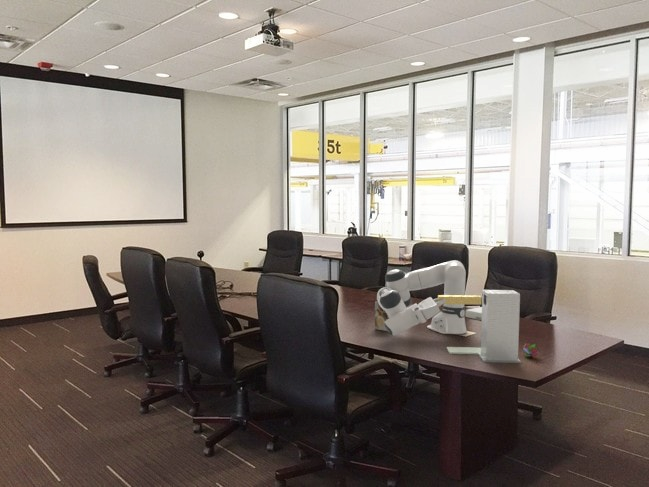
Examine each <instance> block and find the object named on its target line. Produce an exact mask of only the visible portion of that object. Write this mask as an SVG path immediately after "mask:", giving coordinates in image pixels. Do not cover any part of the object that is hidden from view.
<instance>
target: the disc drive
mask: <svg viewBox="0 0 649 487" xmlns="http://www.w3.org/2000/svg"><path fill="white" fill-rule="evenodd" d="M465 317H466V318H469V319H474V320H479V321H482V306H478V307H475V308H469V309H465Z"/></svg>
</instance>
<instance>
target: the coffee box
mask: <svg viewBox="0 0 649 487" xmlns="http://www.w3.org/2000/svg"><path fill="white" fill-rule="evenodd" d="M387 319H389V317H388V315H387V313H386V311H385V310H383V309H382V308H381V307H380V305H379V303H378V300H377V299H376V300H375V301H374V329H375V330H379V331H384V332H388V331H387V329H386V327H385V325H384V322H385V321H386V320H387Z"/></svg>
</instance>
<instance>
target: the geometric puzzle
mask: <svg viewBox="0 0 649 487" xmlns="http://www.w3.org/2000/svg"><path fill="white" fill-rule="evenodd" d="M535 347H536V349H535ZM537 348H538V346H537V343H534V344H533V343H532V344H530V343H528V342H525V344H524V345H523V348H522V350H523V352H524V353H525V355H524V358H528V359H529V357H531V358H532V359H534V360H535V359H536V357H537V355H538V354H539V352H540V351H539V349H537Z"/></svg>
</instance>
